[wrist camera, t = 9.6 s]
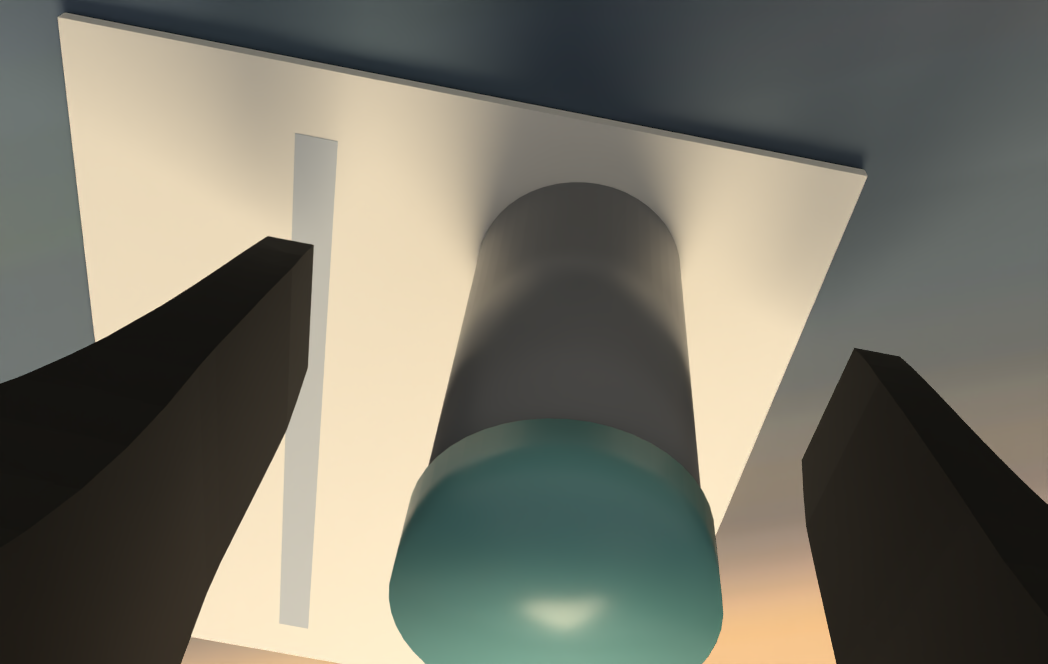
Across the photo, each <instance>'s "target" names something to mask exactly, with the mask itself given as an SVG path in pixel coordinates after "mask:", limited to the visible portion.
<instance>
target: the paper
mask: <svg viewBox="0 0 1048 664" xmlns="http://www.w3.org/2000/svg"><path fill="white" fill-rule="evenodd" d="M58 25H59V34H60V42H61V51H62V59H63V68H64V77H65V85H66V94H67V103H68V111H69V120H70V128H71V137H72V146H73V154H74V163H75V171H76V180H77V189H78V197H79V206H80V215H81V223H82V232H83V240H84V249H85V258H86V266H87V275H88V283H89V292H90V301H91V309H92V318H93V327H94V335H95V342H97V341H99V340H101V339H103V338H105V337H107V336H109V335H110V334H112V333H114V332H116V331H117V330H119V329H121V328H123V327H124V326H126V325H128V324H130V323H131V322H133V321H135V320H137V319H139V318H140V317H142V316H144V315H146V314H147V313H149V312H151V311H153V310H154V309H156V308H158V307H160V306H161V305H163V304H165V303H166V302H168V301H169V300H171V299H172V298H174V297H176V296H177V295H179V294H180V293H182V292H183V291H185V290H187V289H188V288H190V287H191V286H193V285H194V284H196V283H197V282H199V281H201V280H202V279H203V278H205V277H206V276H208V275H209V274H211V273H212V272H214V271H215V270H217V269H218V268H220V267H221V266H223V265H224V264H226V263H227V262H229V261H230V260H232V259H233V258H235V257H236V256H238V255H239V254H241V253H242V252H244V251H245V250H247V249H248V248H250V247H251V246H253V245H254V244H256V243H257V242H259V241H261V240H262V239H264V238H265V237H267V236H271V237H276V238H281V239H286V240H291V241H297V242H302V243H307V244H312V245H314V254H313V274H312V295H311V316H310V336H309V357H308V369H307V372H306V375H305V378H304V381H303V384H302V387H301V390H300V393H299V396H298V400H297V403H296V405H295V408H294V411H293V414H292V417H291V420H290V422H289V425H288V428H287V431H286V433H285V435H284V437H283V439H282V441H281V443H280V445H279V447H278V449H277V451H276V453H275V455H274V457H273V459H272V461H271V463H270V465H269V467H268V469H267V471H266V474H265V476H264V478H263V480H262V482H261V484H260V485H259V487H258V489H257V491H256V493H255V495H254V497H253V499H252V501H251V503H250V505H249V507H248V509H247V511H246V513H245V515H244V517H243V519H242V521H241V523H240V525H239V527H238V529H237V531H236V533H235V535H234V537H233V539H232V541H231V543H230V545H229V547H228V549H227V551H226V553H225V555H224V557H223V559H222V561H221V563H220V565H219V567H218V570H217V572H216V574H215V576H214V579H213V581H212V583H211V585H210V588H209V590H208V592H207V595H206V597H205V600H204V603H203V605H202V608H201V611H200V613H199V616H198V619H197V621H196V624H195V627H194V629H193V632H192V635H191V637H195V638H200V639H206V640H212V641H217V642H223V643H228V644H234V645H240V646H245V647H251V648H257V649H262V650H268V651H273V652H279V653H285V654H290V655H296V656H301V657H307V658H313V659H318V660H324V661H330V662H335V663H341V664H425V663H424V662H423V661H422V660H421V659H420V658H419V657H418V656H417V655H416V654H415V653H414V652H413V651H412V650H411V648H410V647H409V646H408V644H407V643H406V642H405V641H404V639H403V637H402V636H401V634H400V632H399V630H398V629H397V627H396V625H395V622H394V619H393V616H392V614H391V609H390V603H389V583H390V578H391V574H392V570H393V566H394V562H395V558H396V554H397V550H398V546H399V542H400V538H401V534H402V530H403V526H404V522H405V518H406V514H407V510H408V506H409V502H410V498H411V494H412V492H413V490H414V488H415V485H416V483H417V481H418V480H419V478H420V477H421V475H422V474H423V472H424V471H425V469H426V468H427V467H428V465H429V461H430V457H431V452H432V448H433V444H434V440H435V436H436V432H437V427H438V423H439V419H440V415H441V411H442V407H443V402H444V398H445V394H446V390H447V386H448V382H449V377H450V373H451V369H452V365H453V361H454V357H455V352H456V348H457V344H458V340H459V336H460V331H461V327H462V323H463V319H464V315H465V311H466V306H467V302H468V298H469V294H470V290H471V286H472V281H473V277H474V273H475V269H476V265H477V261H478V256H479V252H480V248H481V244H482V242H483V239H484V237H485V234H486V232H487V231H488V229H489V227H490V226H491V224H492V222H493V221H494V220H495V219H496V218H497V216H498V215H499V214H500V213H501V212H502V211H503V210H504V209H505V208H506V207H507V206H508V205H510V204H511V203H513V202H514V201H515V200H517V199H518V198H520V197H522V196H524V195H526V194H528V193H529V192H531V191H534V190H537V189H540V188H542V187H546V186H550V185H554V184H559V183H569V182H587V183H594V184H601V185H605V186H609V187H613V188H615V189H618V190H621V191H623V192H626V193H628V194H629V195H631V196H633V197H635V198H637V199H639V200H640V201H641V202H643V203H644V204H645V205H647V206H648V207H649V208H650V209H652V210H653V211H654V212H655V213H656V214H657V215H658V216H659V217H660V219H661V220H662V221H663V222H664V224H665V225H666V226H667V228H668V230H669V231H670V233H671V235H672V237H673V239H674V242H675V244H676V246H677V250H678V254H679V259H680V270H681V280H682V291H683V302H684V313H685V324H686V334H687V345H688V356H689V367H690V377H691V388H692V399H693V410H694V421H695V431H696V442H697V453H698V464H699V474H700V485H701V489H702V491H703V492H704V494H705V496H706V499H707V501H708V503H709V505H710V508H711V512H712V516H713V519H714V527H715V535H716V533H717V531H718V528H719V526H720V524H721V521H722V519H723V517H724V514H725V512H726V509H727V507H728V505H729V502H730V500H731V498H732V495H733V493H734V491H735V488H736V486H737V483H738V481H739V479H740V476H741V474H742V472H743V469H744V467H745V465H746V462H747V460H748V457H749V455H750V453H751V450H752V448H753V446H754V443H755V441H756V439H757V436H758V434H759V432H760V429H761V427H762V424H763V422H764V420H765V417H766V415H767V413H768V410H769V408H770V406H771V403H772V401H773V398H774V396H775V394H776V391H777V389H778V387H779V384H780V382H781V380H782V377H783V375H784V372H785V370H786V368H787V365H788V363H789V361H790V358H791V356H792V354H793V351H794V349H795V346H796V344H797V342H798V339H799V337H800V335H801V332H802V330H803V328H804V325H805V323H806V320H807V318H808V316H809V313H810V311H811V309H812V306H813V304H814V302H815V299H816V297H817V294H818V292H819V290H820V287H821V285H822V283H823V280H824V278H825V276H826V273H827V271H828V268H829V266H830V264H831V261H832V259H833V257H834V254H835V252H836V250H837V247H838V245H839V243H840V240H841V238H842V235H843V233H844V231H845V228H846V226H847V224H848V221H849V219H850V217H851V214H852V212H853V209H854V207H855V205H856V202H857V200H858V198H859V195H860V193H861V191H862V188H863V186H864V183H865V181H866V179H867V174H866V172H865V170H863V169H858V168H853V167H848V166H843V165H838V164H833V163H828V162H823V161H817V160H812V159H807V158H802V157H797V156H792V155H787V154H782V153H777V152H772V151H767V150H762V149H756V148H751V147H746V146H741V145H736V144H731V143H726V142H721V141H716V140H711V139H706V138H701V137H695V136H690V135H685V134H680V133H675V132H670V131H665V130H660V129H655V128H650V127H645V126H640V125H634V124H629V123H624V122H619V121H614V120H609V119H604V118H599V117H594V116H589V115H584V114H579V113H573V112H568V111H563V110H558V109H553V108H548V107H543V106H538V105H533V104H528V103H523V102H518V101H512V100H507V99H502V98H497V97H492V96H487V95H482V94H477V93H472V92H467V91H462V90H457V89H451V88H446V87H441V86H436V85H431V84H426V83H421V82H416V81H411V80H406V79H401V78H396V77H390V76H385V75H380V74H375V73H370V72H365V71H360V70H355V69H350V68H345V67H340V66H335V65H329V64H324V63H319V62H314V61H309V60H304V59H299V58H294V57H289V56H284V55H279V54H274V53H268V52H263V51H258V50H253V49H248V48H243V47H238V46H233V45H228V44H223V43H218V42H213V41H207V40H202V39H197V38H192V37H187V36H182V35H177V34H172V33H167V32H162V31H157V30H152V29H146V28H141V27H136V26H131V25H126V24H121V23H116V22H111V21H106V20H101V19H96V18H91V17H85V16H80V15H75V14H70V13H63V14H62V15H60V16H58Z"/></svg>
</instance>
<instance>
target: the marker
mask: <svg viewBox="0 0 1048 664" xmlns="http://www.w3.org/2000/svg"><path fill="white" fill-rule="evenodd" d="M389 603H390V609H391V614H392V616H393V619H394V622H395V625H396V627H397V629H398V630H399V632H400V634H401V636H402V637H403V639H404V641H405V642H406V643H407V644H408V646H409V647H410V648H411V650H412V651H413V652H414V653H415V654H416V655H417V656H418V657H419V658H420V659H421V660H422V661H423V662H424V663H425V664H702V663H703V662H704V661H705V660H706V658H707V657H708V656H709V654H710V653H711V651H712V649H713V648H714V646H715V644H716V642H717V639H718V637H719V634H720V631H721V626H722V619H723V606H722V594H721V584H720V575H719V565H718V556H717V546H716V537H715V527H714V519H713V516H712V512H711V508H710V505H709V503H708V501H707V499H706V496H705V494H704V492H703V491H702V489H701V485H700V474H699V464H698V453H697V442H696V431H695V421H694V410H693V399H692V388H691V377H690V367H689V356H688V345H687V334H686V324H685V313H684V302H683V291H682V280H681V270H680V259H679V254H678V250H677V246H676V244H675V242H674V239H673V237H672V235H671V233H670V231H669V230H668V228H667V226H666V225H665V224H664V222H663V221H662V220H661V219H660V217H659V216H658V215H657V214H656V213H655V212H654V211H653V210H652V209H650V208H649V207H648V206H647V205H645V204H644V203H643V202H641V201H640V200H639V199H637V198H635V197H633V196H631V195H629V194H628V193H626V192H623V191H621V190H618V189H615V188H613V187H609V186H605V185H601V184H594V183H587V182H569V183H559V184H554V185H550V186H546V187H542V188H540V189H537V190H534V191H531V192H529V193H528V194H526V195H524V196H522V197H520V198H518V199H517V200H515V201H514V202H513V203H511V204H510V205H508V206H507V207H506V208H505V209H504V210H503V211H502V212H501V213H500V214H499V215H498V216H497V218H496V219H495V220H494V221H493V222H492V224H491V226H490V227H489V229H488V231H487V232H486V234H485V237H484V239H483V242H482V244H481V248H480V252H479V256H478V261H477V265H476V269H475V273H474V277H473V281H472V286H471V290H470V294H469V298H468V302H467V306H466V311H465V315H464V319H463V323H462V327H461V331H460V336H459V340H458V344H457V348H456V352H455V357H454V361H453V365H452V369H451V373H450V377H449V382H448V386H447V390H446V394H445V398H444V402H443V407H442V411H441V415H440V419H439V423H438V427H437V432H436V436H435V440H434V444H433V448H432V452H431V457H430V461H429V465H428V467H427V468H426V469H425V471H424V472H423V474H422V475H421V477H420V478H419V480H418V481H417V483H416V485H415V488H414V490H413V492H412V494H411V498H410V502H409V506H408V510H407V514H406V518H405V522H404V526H403V530H402V534H401V538H400V542H399V546H398V550H397V554H396V558H395V562H394V566H393V570H392V574H391V578H390V583H389Z"/></svg>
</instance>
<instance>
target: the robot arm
mask: <svg viewBox="0 0 1048 664" xmlns="http://www.w3.org/2000/svg"><path fill="white" fill-rule="evenodd" d="M313 254H314V245H312V244H307V243H302V242H297V241H291V240H286V239H281V238H276V237H271V236H267V237H265V238H264V239H262V240H261V241H259V242H257V243H256V244H254V245H253V246H251V247H250V248H248V249H247V250H245V251H244V252H242V253H241V254H239V255H238V256H236V257H235V258H233V259H232V260H230V261H229V262H227V263H226V264H224V265H223V266H221V267H220V268H218V269H217V270H215V271H214V272H212V273H211V274H209V275H208V276H206V277H205V278H203V279H202V280H201V281H199V282H197V283H196V284H194V285H193V286H191V287H190V288H188V289H187V290H185V291H183V292H182V293H180V294H179V295H177V296H176V297H174V298H172V299H171V300H169V301H168V302H166V303H165V304H163V305H161V306H160V307H158V308H156V309H154V310H153V311H151V312H149V313H147V314H146V315H144V316H142V317H140V318H139V319H137V320H135V321H133V322H131V323H130V324H128V325H126V326H124V327H123V328H121V329H119V330H117V331H116V332H114V333H112V334H110V335H109V336H107V337H105V338H103V339H101V340H99V341H97V342H95V343H93V344H91V345H89V346H87V347H85V348H83V349H81V350H79V351H77V352H75V353H73V354H71V355H68V356H66V357H64V358H62V359H59V360H57V361H55V362H53V363H50V364H48V365H46V366H44V367H41V368H39V369H37V370H35V371H32V372H30V373H27V374H25V375H22V376H20V377H18V378H15V379H12V380H9V381H7V382H4V383H1V384H0V664H181V662H182V659H183V656H184V653H185V651H186V648H187V645H188V643H189V640H190V637H191V635H192V632H193V629H194V627H195V624H196V621H197V619H198V616H199V613H200V611H201V608H202V605H203V603H204V600H205V597H206V595H207V592H208V590H209V588H210V585H211V583H212V581H213V579H214V576H215V574H216V572H217V570H218V567H219V565H220V563H221V561H222V559H223V557H224V555H225V553H226V551H227V549H228V547H229V545H230V543H231V541H232V539H233V537H234V535H235V533H236V531H237V529H238V527H239V525H240V523H241V521H242V519H243V517H244V515H245V513H246V511H247V509H248V507H249V505H250V503H251V501H252V499H253V497H254V495H255V493H256V491H257V489H258V487H259V485H260V484H261V482H262V480H263V478H264V476H265V474H266V471H267V469H268V467H269V465H270V463H271V461H272V459H273V457H274V455H275V453H276V451H277V449H278V447H279V445H280V443H281V441H282V439H283V437H284V435H285V433H286V431H287V428H288V425H289V422H290V420H291V417H292V414H293V411H294V408H295V405H296V403H297V400H298V396H299V393H300V390H301V387H302V384H303V381H304V378H305V375H306V372H307V369H308V357H309V336H310V316H311V295H312V274H313ZM802 473H803V492H804V505H805V517H806V527H807V532H808V537H809V542H810V547H811V552H812V556H813V561H814V566H815V570H816V575H817V579H818V584H819V588H820V593H821V597H822V602H823V606H824V610H825V615H826V619H827V624H828V628H829V633H830V637H831V642H832V646H833V650H834V655H835V659H836V664H1048V504H1047V503H1045V502H1044V501H1043V500H1042V499H1041V498H1040V497H1039V496H1038V495H1037V494H1036V493H1035V492H1034V491H1032V490H1031V489H1030V488H1029V487H1028V486H1027V485H1026V484H1025V483H1024V482H1023V481H1022V480H1021V479H1020V478H1019V477H1018V476H1017V475H1016V474H1015V473H1014V472H1013V471H1012V470H1011V469H1010V468H1009V467H1008V466H1007V465H1006V464H1005V463H1004V462H1003V461H1002V460H1001V459H1000V458H999V457H998V456H997V455H996V454H995V453H994V452H993V451H992V450H991V449H990V448H989V447H988V446H987V445H986V444H985V443H984V442H983V441H982V440H981V439H980V438H979V436H978V435H977V434H976V433H975V432H974V431H973V430H972V429H971V428H970V427H969V426H968V425H967V424H966V423H965V422H964V421H963V420H962V419H961V418H960V417H959V416H958V414H957V413H956V412H955V411H954V410H953V409H952V408H951V407H950V406H949V405H948V404H947V403H946V402H945V401H944V400H943V399H942V398H941V397H940V396H939V394H938V393H937V392H936V391H935V390H934V389H933V388H932V387H931V386H930V385H929V384H928V383H927V382H926V381H925V380H924V379H923V378H922V377H921V376H920V375H919V374H918V373H917V372H916V371H915V370H914V369H913V368H912V367H911V366H910V365H908V364H907V363H906V362H905V361H904V360H903V359H902V358H901V357H899V356H894V355H889V354H883V353H878V352H873V351H868V350H862V349H857V348H854V350H853V352H852V354H851V356H850V359H849V361H848V363H847V365H846V367H845V369H844V371H843V373H842V376H841V378H840V380H839V382H838V384H837V386H836V388H835V390H834V393H833V395H832V397H831V399H830V401H829V403H828V405H827V408H826V410H825V412H824V414H823V416H822V418H821V420H820V422H819V425H818V427H817V429H816V431H815V433H814V435H813V437H812V440H811V442H810V444H809V446H808V448H807V450H806V452H805V454H804V457H803V459H802Z"/></svg>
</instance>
